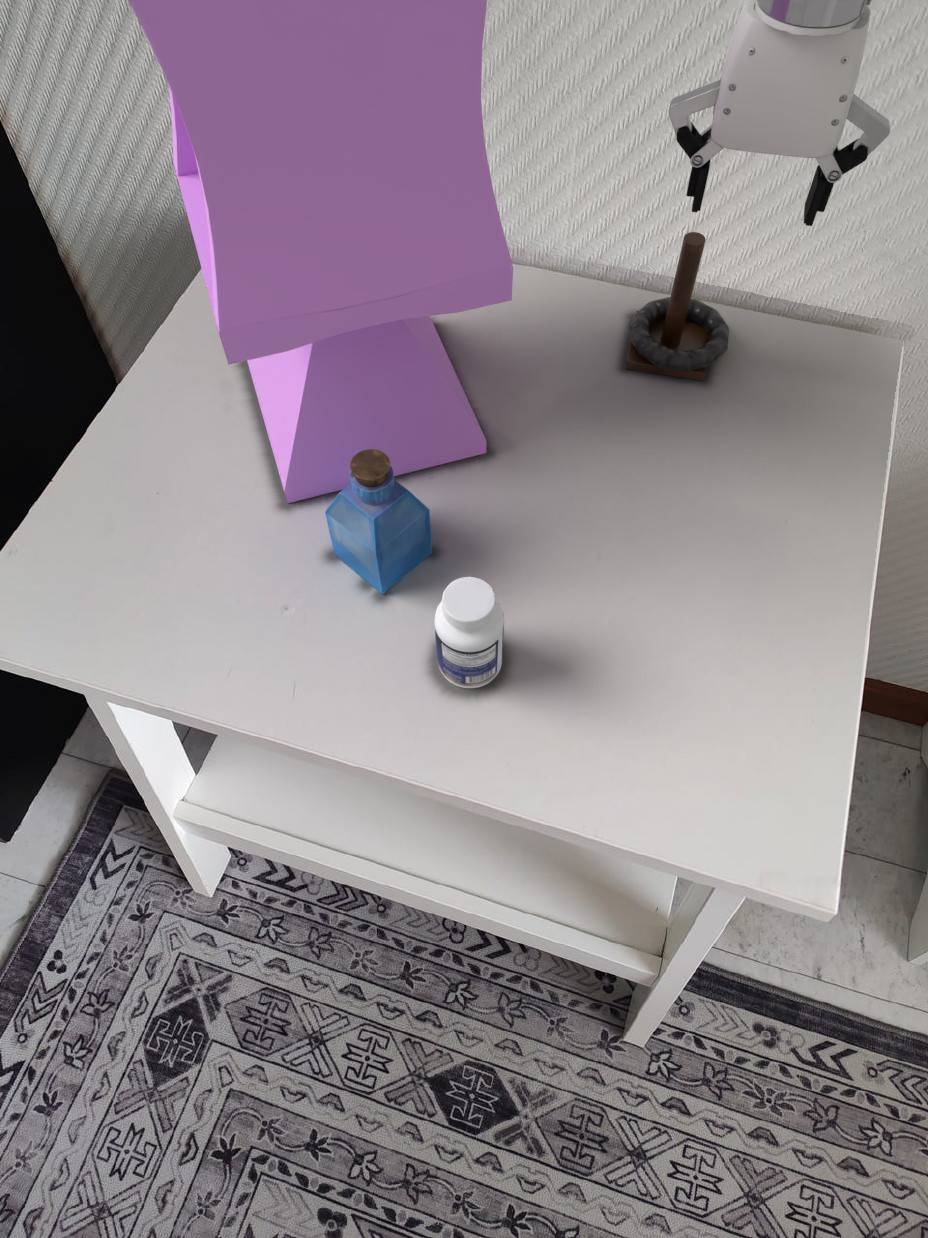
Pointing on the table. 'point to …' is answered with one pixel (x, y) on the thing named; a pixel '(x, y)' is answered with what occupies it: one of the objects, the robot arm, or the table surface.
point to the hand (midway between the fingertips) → (751, 209)
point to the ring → (674, 357)
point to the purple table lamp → (338, 214)
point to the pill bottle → (469, 633)
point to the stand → (678, 314)
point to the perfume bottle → (378, 523)
